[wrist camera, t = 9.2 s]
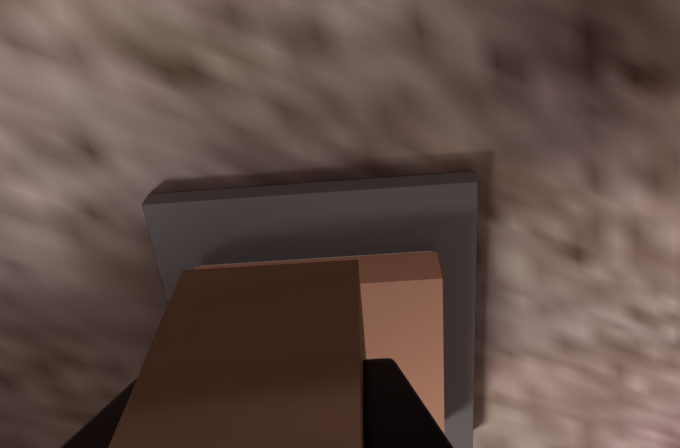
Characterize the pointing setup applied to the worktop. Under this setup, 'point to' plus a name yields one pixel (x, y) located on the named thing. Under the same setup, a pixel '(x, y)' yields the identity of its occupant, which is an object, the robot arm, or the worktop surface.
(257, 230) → the slate mat
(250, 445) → the walnut turner
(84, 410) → the worktop surface
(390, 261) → the glazed tile
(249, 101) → the worktop surface
